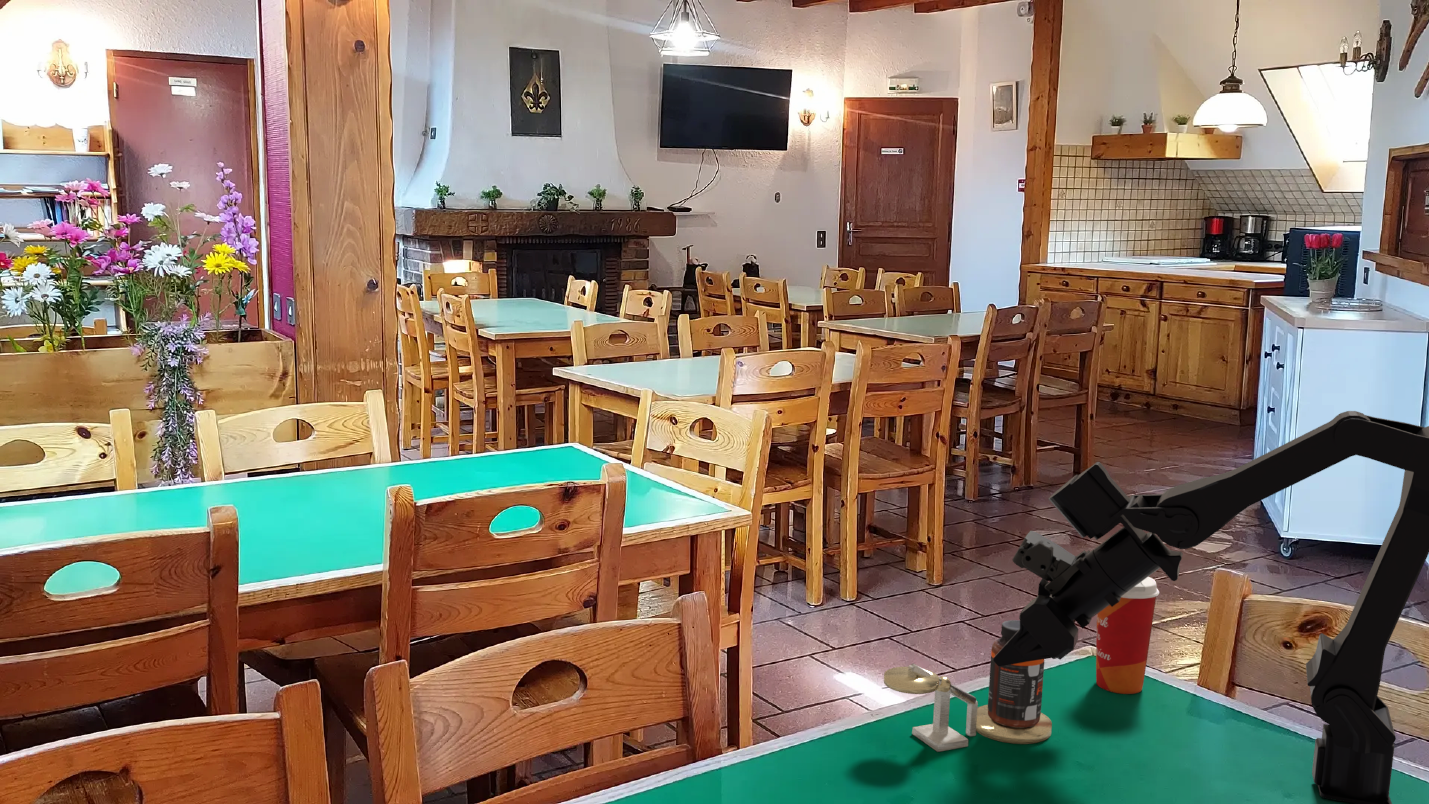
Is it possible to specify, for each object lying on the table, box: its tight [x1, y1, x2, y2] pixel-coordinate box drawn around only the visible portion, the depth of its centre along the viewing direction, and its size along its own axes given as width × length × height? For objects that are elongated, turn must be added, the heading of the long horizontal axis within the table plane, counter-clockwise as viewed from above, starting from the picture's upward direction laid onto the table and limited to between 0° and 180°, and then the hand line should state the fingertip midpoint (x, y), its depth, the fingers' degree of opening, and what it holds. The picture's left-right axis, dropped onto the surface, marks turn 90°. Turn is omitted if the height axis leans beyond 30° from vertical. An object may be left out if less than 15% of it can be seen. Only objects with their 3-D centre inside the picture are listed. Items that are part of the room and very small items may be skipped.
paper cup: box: [1095, 576, 1160, 695], centre depth 153 cm, size 8×8×14 cm
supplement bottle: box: [987, 619, 1045, 728], centre depth 140 cm, size 6×6×11 cm
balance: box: [883, 663, 1053, 753], centre depth 137 cm, size 22×9×9 cm, turn 114°
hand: (1003, 650), depth 140 cm, fingers open, 9 cm apart
